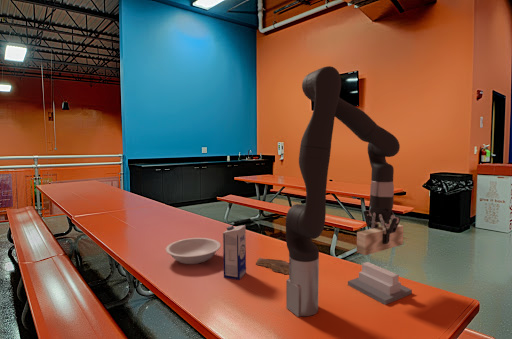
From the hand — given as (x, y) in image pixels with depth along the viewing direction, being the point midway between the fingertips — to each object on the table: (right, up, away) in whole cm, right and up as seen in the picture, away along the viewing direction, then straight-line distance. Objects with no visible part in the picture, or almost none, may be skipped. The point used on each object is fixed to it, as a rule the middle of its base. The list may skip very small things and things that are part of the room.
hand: (380, 241), depth 109 cm
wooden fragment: (-33, -16, +22) cm, 43 cm away
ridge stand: (0, -17, +2) cm, 17 cm away
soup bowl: (-71, -16, +30) cm, 79 cm away
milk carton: (-52, -17, +14) cm, 57 cm away
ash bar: (0, -2, 0) cm, 2 cm away
